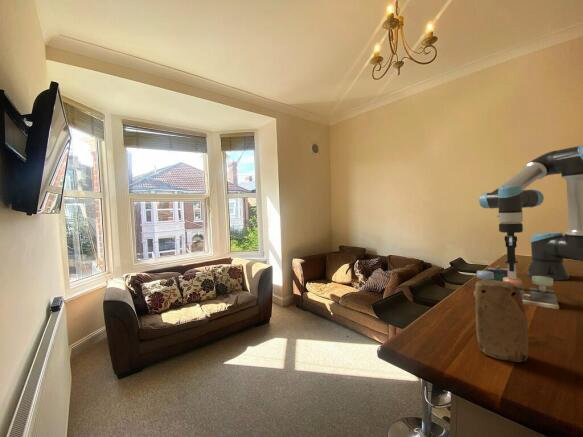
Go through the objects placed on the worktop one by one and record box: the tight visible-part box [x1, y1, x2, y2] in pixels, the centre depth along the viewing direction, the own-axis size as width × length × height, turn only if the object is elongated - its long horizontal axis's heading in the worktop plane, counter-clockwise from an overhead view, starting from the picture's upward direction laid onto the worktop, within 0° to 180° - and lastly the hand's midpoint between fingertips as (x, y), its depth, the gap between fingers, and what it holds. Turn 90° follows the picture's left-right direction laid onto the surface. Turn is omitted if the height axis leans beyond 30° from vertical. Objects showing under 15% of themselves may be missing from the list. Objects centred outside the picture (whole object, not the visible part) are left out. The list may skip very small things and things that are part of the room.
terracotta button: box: [503, 277, 523, 287], centre depth 106 cm, size 6×6×6 cm
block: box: [474, 279, 529, 363], centre depth 68 cm, size 11×8×20 cm
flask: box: [485, 265, 508, 282], centre depth 120 cm, size 9×3×11 cm, turn 68°
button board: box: [473, 281, 560, 310], centre depth 106 cm, size 26×10×5 cm, turn 48°
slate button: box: [476, 270, 494, 280], centre depth 112 cm, size 6×6×6 cm
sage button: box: [531, 276, 554, 293], centre depth 99 cm, size 6×6×6 cm
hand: (511, 278), depth 105 cm, fingers closed
